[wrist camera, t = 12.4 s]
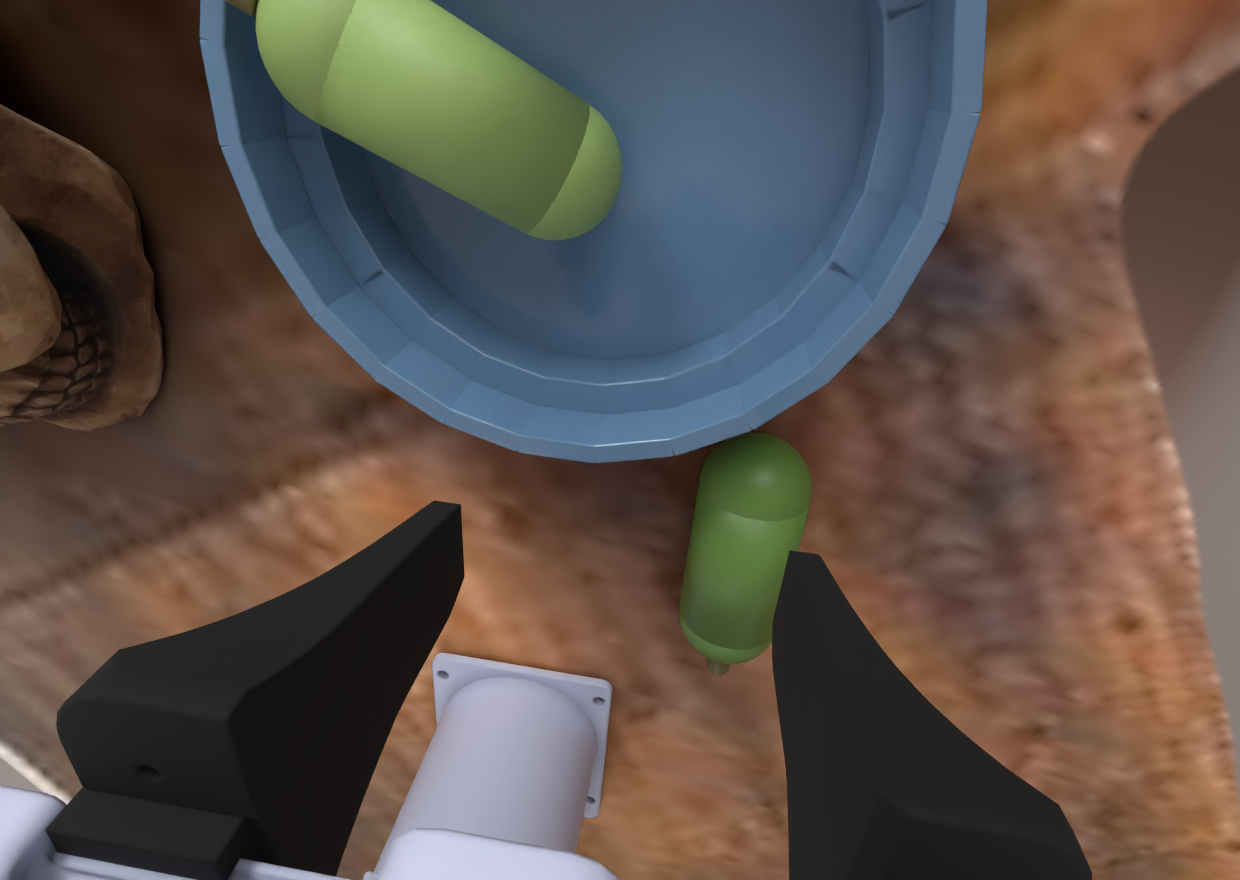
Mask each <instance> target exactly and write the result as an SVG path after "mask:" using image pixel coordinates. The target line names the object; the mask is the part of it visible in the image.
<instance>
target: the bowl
mask: <svg viewBox="0 0 1240 880" xmlns="http://www.w3.org/2000/svg"><path fill="white" fill-rule="evenodd" d="M431 1H432V2H434V3H435V4H437V5H438V6H440V7H441V8H443V9H445V10H446V11H448V12H449V13H451V14H452V15H454V16H455V17H457V18H458V19H460V20H461V21H463V22H465V23H466V24H468V25H469V26H471V27H472V28H474V29H475V30H477V31H478V32H480V33H481V34H483V35H484V36H486V37H488V38H489V39H491V40H492V41H494V42H495V43H497V44H498V45H500V46H501V47H503V48H504V49H506V50H507V51H509V52H511V53H512V54H514V55H515V56H517V57H518V58H520V59H521V60H523V61H524V62H526V63H527V64H529V65H530V66H532V67H534V68H535V69H537V70H538V71H540V72H541V73H543V74H544V75H546V76H547V77H549V78H550V79H552V80H553V81H555V82H557V83H558V84H560V85H561V86H563V87H564V88H566V89H567V90H569V91H570V92H572V93H573V94H575V95H577V96H578V97H580V98H581V99H583V100H584V101H586V102H587V103H588V104H589V105H591V106H592V107H593V108H594V109H596V110H597V111H598V112H599V113H600V114H601V115H602V116H603V117H604V119H605V120H606V121H607V122H608V124H609V125H610V127H611V129H612V130H613V132H614V134H615V136H616V138H617V142H618V145H619V148H620V151H621V157H622V167H623V169H622V180H621V187H620V190H619V193H618V196H617V198H616V201H615V203H614V204H613V206H612V208H611V210H610V211H609V213H608V214H607V216H606V217H605V218H604V219H603V220H602V221H601V222H600V223H599V224H598V225H596V226H595V227H594V228H593V229H592V230H590V231H588V232H586V233H584V234H582V235H580V236H578V237H574V238H570V239H566V240H544V239H539V238H535V237H533V236H531V235H528V234H526V233H523V232H522V231H520V230H518V229H516V228H514V227H512V226H510V225H508V224H506V223H505V222H503V221H501V220H499V219H497V218H495V217H493V216H491V215H490V214H488V213H486V212H484V211H482V210H480V209H478V208H476V207H474V206H473V205H471V204H469V203H467V202H465V201H463V200H461V199H459V198H458V197H456V196H454V195H452V194H450V193H448V192H446V191H444V190H442V189H441V188H439V187H437V186H435V185H433V184H431V183H429V182H427V181H426V180H424V179H422V178H420V177H418V176H416V175H414V174H412V173H410V172H409V171H407V170H405V169H403V168H401V167H399V166H397V165H395V164H394V163H392V162H390V161H388V160H386V159H384V158H382V157H380V156H378V155H377V154H375V153H373V152H371V151H369V150H367V149H365V148H363V147H362V146H360V145H358V144H356V143H354V142H352V141H350V140H348V139H346V138H345V137H343V136H341V135H339V134H337V133H335V132H333V131H331V130H329V129H328V128H326V127H324V126H322V125H320V124H318V123H316V122H315V121H313V120H312V119H310V118H308V117H307V116H305V115H304V114H302V113H301V112H299V111H298V110H297V109H296V108H295V107H294V106H293V105H292V104H291V103H290V102H288V101H287V100H286V99H285V97H284V96H283V95H282V94H281V92H280V91H279V90H278V88H277V87H276V86H275V85H274V83H273V81H272V79H271V77H270V76H269V74H268V72H267V70H266V68H265V66H264V63H263V60H262V57H261V54H260V51H259V48H258V42H257V36H256V15H255V16H250V15H248V14H247V13H245V12H243V11H242V10H240V9H238V8H236V7H235V6H233V5H231V4H229V3H228V2H226V1H224V0H201V1H200V38H201V40H200V46H201V51H202V56H203V62H204V67H205V72H206V77H207V82H208V88H209V93H210V98H211V103H212V109H213V114H214V119H215V124H216V129H217V135H218V140H219V144H220V145H221V146H222V147H221V150H222V152H223V155H224V157H225V160H226V162H227V164H228V167H229V169H230V172H231V174H232V176H233V179H234V181H235V184H236V186H237V188H238V191H239V193H240V196H241V198H242V200H243V203H244V205H245V208H246V210H247V213H248V215H249V217H250V220H251V222H252V225H253V227H254V229H255V232H256V234H257V237H258V238H259V239H261V240H260V242H261V244H262V245H263V247H264V248H265V250H266V251H267V253H268V254H269V256H270V257H271V259H272V260H273V262H274V263H275V265H276V266H277V268H278V269H279V271H280V272H281V273H282V275H283V276H284V278H285V279H286V281H287V282H288V284H289V285H290V287H291V288H292V290H293V291H294V293H295V294H296V296H297V297H298V299H299V300H300V302H301V303H302V305H303V306H304V308H305V309H306V311H307V312H308V314H309V315H310V316H311V317H313V320H314V321H315V322H316V323H317V324H318V325H319V326H320V327H321V328H322V329H323V330H324V331H325V332H326V333H327V334H328V335H329V336H330V337H331V338H332V339H333V340H334V341H335V342H336V343H337V344H338V345H339V346H340V347H342V348H343V349H344V350H345V351H346V352H347V353H348V354H349V355H350V356H351V357H352V358H353V359H354V360H355V361H356V362H357V363H358V364H359V365H360V366H361V367H362V368H363V369H364V370H365V371H366V372H367V373H368V374H369V375H370V376H371V377H372V378H375V379H374V380H375V381H377V382H378V383H380V384H381V385H383V386H384V387H386V388H387V389H389V390H390V391H392V392H394V393H395V394H397V395H398V396H400V397H401V398H403V399H404V400H406V401H407V402H409V403H411V404H412V405H414V406H415V407H417V408H418V409H420V410H421V411H423V412H425V413H426V414H428V415H429V416H431V417H432V418H434V419H435V420H437V421H438V422H440V423H442V424H445V425H447V426H449V427H452V428H455V429H457V430H460V431H462V432H465V433H468V434H470V435H473V436H476V437H478V438H481V439H484V440H486V441H489V442H492V443H494V444H497V445H500V446H502V447H505V448H507V449H510V450H513V451H515V452H519V453H524V454H531V455H538V456H545V457H552V458H559V459H566V460H573V461H580V462H587V463H607V462H619V461H630V460H641V459H653V458H664V457H673V456H674V455H675V456H678V455H681V454H684V453H687V452H690V451H693V450H696V449H699V448H702V447H705V446H708V445H711V444H714V443H717V442H720V441H723V440H726V439H729V438H732V437H735V436H738V435H741V434H744V433H747V432H750V431H751V430H752V429H753V430H755V429H756V428H758V427H759V426H761V425H763V424H764V423H766V422H767V421H769V420H771V419H772V418H774V417H775V416H777V415H778V414H780V413H782V412H783V411H785V410H786V409H788V408H790V407H791V406H793V405H794V404H796V403H798V402H799V401H801V400H802V399H804V398H806V397H807V396H809V395H810V394H812V393H814V392H815V391H817V390H818V389H820V388H822V387H823V386H825V385H826V383H829V382H830V381H831V380H832V379H833V378H834V377H835V376H836V375H837V373H838V372H839V371H840V370H841V369H842V368H843V367H844V366H845V365H846V364H847V363H848V362H849V361H850V360H851V359H852V358H853V357H854V356H855V355H856V354H857V353H858V352H859V351H860V350H861V349H862V348H863V347H864V346H865V345H866V344H867V343H868V342H869V341H870V340H871V339H872V338H873V337H874V336H875V334H876V333H877V332H878V331H879V330H880V329H881V328H882V327H883V326H884V325H885V324H886V323H887V322H888V321H889V320H890V319H891V318H892V317H893V315H892V314H895V312H896V311H897V309H898V307H899V306H900V304H901V302H902V301H903V299H904V297H905V296H906V294H907V292H908V290H909V289H910V287H911V285H912V284H913V282H914V280H915V279H916V277H917V275H918V274H919V272H920V270H921V268H922V267H923V265H924V263H925V262H926V260H927V258H928V257H929V255H930V253H931V252H932V250H933V248H934V247H935V245H936V243H937V241H938V240H939V238H940V236H941V235H942V233H943V231H944V230H945V228H946V224H947V223H948V221H949V218H950V215H951V211H952V208H953V205H954V202H955V198H956V195H957V192H958V189H959V185H960V182H961V179H962V175H963V172H964V169H965V166H966V162H967V159H968V156H969V152H970V149H971V146H972V143H973V139H974V136H975V133H976V130H977V126H978V123H979V120H980V112H981V111H982V100H983V81H984V62H985V43H986V24H987V5H988V0H431Z"/></svg>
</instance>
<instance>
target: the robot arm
mask: <svg viewBox="0 0 1240 880" xmlns="http://www.w3.org/2000/svg"><path fill="white" fill-rule="evenodd" d="M463 579H464V559H463V539H462V520H461V504H454V503H447V502H439V501H433V502H432V503H430V504H429V505H427V506H426V507H424V508H423V509H421V510H420V511H419V512H417V513H416V514H414V515H413V516H411V517H410V518H409V519H407V520H406V521H404V522H403V523H402V524H400V525H399V526H397V527H396V528H395V529H393V530H392V531H390V532H389V533H387V534H386V535H384V536H383V537H381V538H380V539H379V540H377V541H376V542H374V543H373V544H371V545H370V546H368V547H367V548H365V549H364V550H362V551H360V552H359V553H357V554H355V555H354V556H352V557H351V558H349V559H347V560H346V561H344V562H342V563H341V564H339V565H338V566H336V567H334V568H333V569H331V570H329V571H328V572H326V573H324V574H322V575H321V576H319V577H317V578H315V579H313V580H311V581H309V582H307V583H305V584H303V585H301V586H299V587H297V588H295V589H293V590H291V591H289V592H287V593H285V594H283V595H281V596H279V597H276V598H274V599H272V600H269V601H267V602H265V603H262V604H260V605H258V606H255V607H253V608H250V609H248V610H246V611H243V612H241V613H239V614H236V615H233V616H231V617H228V618H225V619H222V620H219V621H217V622H214V623H211V624H208V625H205V626H202V627H199V628H196V629H193V630H190V631H187V632H183V633H180V634H177V635H173V636H169V637H166V638H162V639H158V640H155V641H151V642H147V643H143V644H140V645H136V646H132V647H128V648H124V649H120V650H119V651H117V652H116V653H115V654H114V655H113V656H112V657H111V658H110V659H109V660H108V661H107V662H106V663H105V664H104V665H103V666H102V667H101V668H99V669H98V670H97V671H96V672H95V673H94V674H93V675H92V676H91V677H90V678H89V679H88V680H87V681H86V682H85V683H84V684H83V685H82V686H81V687H80V688H79V689H78V690H77V691H76V692H75V693H74V694H73V695H71V696H70V697H69V698H68V699H67V700H66V701H65V702H64V703H63V705H62V706H61V708H60V709H59V711H58V712H57V722H56V726H57V731H58V734H59V738H60V741H61V743H62V745H63V747H64V749H65V751H66V753H67V755H68V757H69V759H70V761H71V763H72V766H73V768H74V770H75V772H76V774H77V776H78V778H79V780H80V782H81V784H82V786H83V788H82V789H81V790H80V791H79V792H78V793H77V794H76V795H75V797H74V798H73V799H72V800H71V801H70V802H69V803H68V804H67V805H66V804H65V803H64V802H63V801H62V800H60V799H58V798H57V797H55V796H52V795H49V794H46V793H42V792H36V791H31V790H26V789H20V788H15V787H9V786H4V785H0V880H351V879H346V878H340V877H336V874H337V871H338V868H339V865H340V862H341V859H342V856H343V853H344V850H345V847H346V845H347V842H348V839H349V836H350V834H351V831H352V828H353V825H354V823H355V820H356V817H357V814H358V812H359V809H360V806H361V803H362V801H363V798H364V796H365V793H366V790H367V788H368V785H369V783H370V780H371V778H372V775H373V772H374V770H375V767H376V765H377V762H378V760H379V757H380V755H381V752H382V750H383V747H384V745H385V743H386V740H387V738H388V735H389V733H390V730H391V728H392V726H393V723H394V721H395V718H396V716H397V714H398V712H399V710H400V708H401V706H402V704H403V702H404V700H405V698H406V696H407V694H408V692H409V691H410V689H411V687H412V685H413V683H414V681H415V679H416V678H417V676H418V674H419V672H420V670H421V668H422V667H423V665H424V663H425V661H426V659H427V657H428V656H429V654H430V652H431V650H432V648H433V646H434V645H435V643H436V641H437V639H438V637H439V635H440V633H441V631H442V630H443V628H444V626H445V624H446V622H447V620H448V618H449V616H450V614H451V611H452V609H453V606H454V604H455V601H456V598H457V596H458V593H459V590H460V587H461V585H462V582H463ZM772 659H773V673H774V681H775V689H776V697H777V705H778V712H779V719H780V727H781V734H782V742H783V749H784V757H785V765H786V777H787V796H788V829H789V880H1092V872H1091V870H1090V867H1089V865H1088V863H1087V861H1086V858H1085V856H1084V854H1083V852H1082V849H1081V847H1080V845H1079V842H1078V840H1077V838H1076V836H1075V834H1074V832H1073V830H1072V828H1071V826H1070V824H1069V823H1068V821H1067V819H1066V817H1065V816H1064V814H1063V812H1062V810H1061V808H1060V806H1059V805H1058V804H1057V803H1055V802H1054V801H1052V800H1051V799H1050V798H1048V797H1047V796H1045V795H1044V794H1042V793H1041V792H1040V791H1038V790H1037V789H1035V788H1034V787H1032V786H1031V785H1030V784H1028V783H1027V782H1025V781H1024V780H1022V779H1021V778H1020V777H1018V776H1017V775H1015V774H1014V773H1012V772H1011V771H1010V770H1008V769H1007V768H1006V767H1004V766H1003V765H1002V764H1000V763H999V762H998V761H997V760H995V759H994V758H993V757H992V756H990V755H989V754H988V753H987V752H985V751H984V750H983V749H981V748H980V747H979V746H978V745H977V744H975V743H974V742H973V741H972V740H971V739H969V738H968V737H967V736H966V735H965V734H964V733H962V732H961V731H960V730H959V729H958V728H957V727H956V726H955V725H953V724H952V723H951V722H950V721H949V720H948V719H947V718H946V717H945V716H944V715H943V714H942V713H940V712H939V711H938V710H937V709H936V708H935V707H934V706H933V705H932V704H931V703H930V702H929V701H928V700H927V699H926V698H925V697H924V696H923V695H922V694H921V693H920V692H919V691H918V690H917V689H916V688H915V687H914V685H913V684H912V683H911V682H910V681H909V680H908V679H907V678H906V677H905V676H904V675H903V674H902V673H901V671H900V670H899V669H898V668H897V667H896V666H895V664H894V663H893V662H892V661H891V660H890V658H889V657H888V656H887V655H886V653H885V652H884V651H883V650H882V648H881V647H880V646H879V644H878V643H877V642H876V640H875V639H874V638H873V636H872V635H871V634H870V632H869V631H868V630H867V628H866V627H865V625H864V624H863V622H862V621H861V620H860V618H859V617H858V615H857V614H856V612H855V611H854V610H853V608H852V606H851V605H850V603H849V602H848V600H847V599H846V597H845V596H844V594H843V593H842V591H841V589H840V588H839V586H838V585H837V583H836V581H835V580H834V578H833V576H832V575H831V573H830V571H829V570H828V568H827V566H826V565H825V563H824V561H823V560H822V558H821V557H820V556H819V554H811V553H804V552H797V551H790V550H789V554H788V559H787V563H786V567H785V571H784V575H783V580H782V584H781V588H780V592H779V597H778V601H777V605H776V609H775V613H774V618H773V622H772ZM432 670H433V683H434V696H435V709H436V722H437V728H436V731H435V733H434V735H433V737H432V740H431V742H430V744H429V747H428V749H427V751H426V753H425V756H424V758H423V760H422V763H421V765H420V767H419V769H418V772H417V774H416V776H415V779H414V781H413V783H412V785H411V788H410V790H409V792H408V794H407V797H406V799H405V801H404V804H403V806H402V808H401V810H400V813H399V815H398V817H397V820H396V822H395V824H394V826H393V829H392V831H391V833H390V836H389V838H388V840H387V842H386V845H385V847H384V849H383V851H382V854H381V856H380V858H379V861H378V863H377V865H376V867H375V870H374V872H370V871H368V872H366V873H365V875H364V877H363V879H362V880H619V878H618V877H617V876H616V875H615V874H614V873H612V872H611V871H610V870H609V869H607V868H606V867H605V866H604V865H602V864H601V863H600V862H599V861H597V860H594V859H591V858H588V857H585V856H582V855H580V854H577V853H576V851H577V846H578V841H579V836H580V830H581V825H582V820H583V817H585V818H595V817H597V816H598V814H599V810H600V802H601V792H602V783H603V773H604V764H605V754H606V745H607V735H608V726H609V717H610V707H611V698H612V686H611V684H610V683H609V682H607V681H606V680H603V679H598V678H592V677H586V676H580V675H574V674H568V673H562V672H556V671H550V670H544V669H538V668H532V667H526V666H520V665H514V664H509V663H503V662H497V661H491V660H485V659H479V658H473V657H467V656H461V655H455V654H449V653H439V654H437V655H436V656H435V658H434V660H433V662H432ZM444 671H445V672H444ZM597 697H600V698H597Z"/></svg>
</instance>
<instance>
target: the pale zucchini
mask: <svg viewBox="0 0 1240 880" xmlns="http://www.w3.org/2000/svg"><path fill="white" fill-rule="evenodd" d="M224 1H226V2H228V3H229V4H231V5H233V6H235V7H236V8H238V9H240V10H242V11H243V12H245V13H247V14H248V15H250V16H255V15H256V36H257V42H258V48H259V51H260V54H261V57H262V60H263V63H264V66H265V68H266V70H267V72H268V74H269V76H270V77H271V79H272V81H273V83H274V85H275V86H276V87H277V88H278V90H279V91H280V92H281V94H282V95H283V96H284V97H285V99H286V100H287V101H288V102H290V103H291V104H292V105H293V106H294V107H295V108H296V109H297V110H298V111H299V112H301V113H302V114H304V115H305V116H307V117H308V118H310V119H312V120H313V121H315V122H316V123H318V124H320V125H322V126H324V127H326V128H328V129H329V130H331V131H333V132H335V133H337V134H339V135H341V136H343V137H345V138H346V139H348V140H350V141H352V142H354V143H356V144H358V145H360V146H362V147H363V148H365V149H367V150H369V151H371V152H373V153H375V154H377V155H378V156H380V157H382V158H384V159H386V160H388V161H390V162H392V163H394V164H395V165H397V166H399V167H401V168H403V169H405V170H407V171H409V172H410V173H412V174H414V175H416V176H418V177H420V178H422V179H424V180H426V181H427V182H429V183H431V184H433V185H435V186H437V187H439V188H441V189H442V190H444V191H446V192H448V193H450V194H452V195H454V196H456V197H458V198H459V199H461V200H463V201H465V202H467V203H469V204H471V205H473V206H474V207H476V208H478V209H480V210H482V211H484V212H486V213H488V214H490V215H491V216H493V217H495V218H497V219H499V220H501V221H503V222H505V223H506V224H508V225H510V226H512V227H514V228H516V229H518V230H520V231H522V232H523V233H526V234H528V235H531V236H533V237H535V238H539V239H544V240H566V239H570V238H574V237H578V236H580V235H582V234H584V233H586V232H588V231H590V230H592V229H593V228H594V227H595V226H596V225H598V224H599V223H600V222H601V221H602V220H603V219H604V218H605V217H606V216H607V214H608V213H609V211H610V210H611V208H612V206H613V204H614V203H615V201H616V198H617V196H618V193H619V190H620V187H621V180H622V169H623V167H622V157H621V151H620V148H619V145H618V142H617V138H616V136H615V134H614V132H613V130H612V129H611V127H610V125H609V124H608V122H607V121H606V120H605V119H604V117H603V116H602V115H601V114H600V113H599V112H598V111H597V110H596V109H594V108H593V107H592V106H591V105H589V104H588V103H587V102H586V101H584V100H583V99H581V98H580V97H578V96H577V95H575V94H573V93H572V92H570V91H569V90H567V89H566V88H564V87H563V86H561V85H560V84H558V83H557V82H555V81H553V80H552V79H550V78H549V77H547V76H546V75H544V74H543V73H541V72H540V71H538V70H537V69H535V68H534V67H532V66H530V65H529V64H527V63H526V62H524V61H523V60H521V59H520V58H518V57H517V56H515V55H514V54H512V53H511V52H509V51H507V50H506V49H504V48H503V47H501V46H500V45H498V44H497V43H495V42H494V41H492V40H491V39H489V38H488V37H486V36H484V35H483V34H481V33H480V32H478V31H477V30H475V29H474V28H472V27H471V26H469V25H468V24H466V23H465V22H463V21H461V20H460V19H458V18H457V17H455V16H454V15H452V14H451V13H449V12H448V11H446V10H445V9H443V8H441V7H440V6H438V5H437V4H435V3H434V2H432V1H431V0H224Z"/></svg>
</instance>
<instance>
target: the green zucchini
mask: <svg viewBox="0 0 1240 880" xmlns="http://www.w3.org/2000/svg"><path fill="white" fill-rule="evenodd" d="M811 498H812V478H811V475H810V472H809V469H808V466H807V464H806V462H805V460H804V459H803V457H802V456H801V454H800V453H799V452H798V451H797V450H796V449H795V448H794V447H793V446H792V445H791V444H789V443H788V442H787V441H785V440H783V439H781V438H779V437H777V436H774V435H771V434H767V433H760V432H748V433H744V434H741V435H738V436H735V437H732V438H729V439H727V440H725V441H724V442H722V443H721V444H720V445H718V446H717V447H716V448H715V449H714V450H713V451H712V452H711V454H710V455H709V456H708V458H707V460H706V462H705V463H704V465H703V468H702V472H701V475H700V479H699V485H698V491H697V497H696V504H695V510H694V516H693V522H692V528H691V535H690V541H689V547H688V553H687V560H686V566H685V572H684V578H683V584H682V591H681V597H680V603H679V619H680V623H681V626H682V630H683V632H684V634H685V636H686V637H687V639H688V641H689V643H690V644H691V645H692V646H693V647H694V648H695V649H696V650H697V651H698V652H699V653H701V654H702V655H703V656H705V657H707V660H706V666H707V668H708V670H709V671H710V672H712V673H714V674H717V675H722V674H725V673H726V672H727V671H728V670H729V668H730V664H738V663H743V662H747V661H749V660H752V659H754V658H755V657H757V656H759V655H760V654H761V653H762V652H764V651H765V650H766V649H767V647H768V646H769V645H770V643H771V642H772V622H773V618H774V613H775V609H776V605H777V601H778V597H779V592H780V588H781V584H782V580H783V575H784V571H785V567H786V563H787V559H788V554H789V550H790V551H797V552H798V550H799V546H800V542H801V538H802V534H803V531H804V527H805V523H806V519H807V515H808V511H809V508H810V504H811Z"/></svg>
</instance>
